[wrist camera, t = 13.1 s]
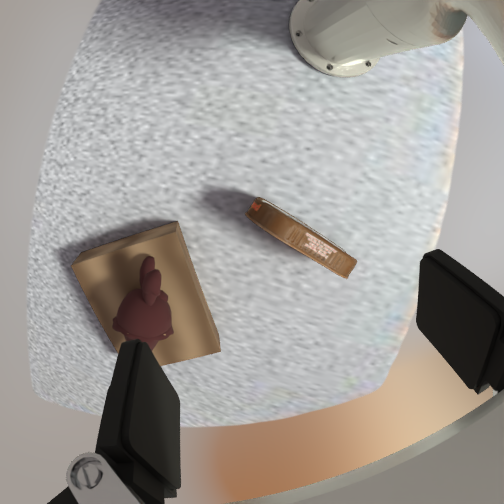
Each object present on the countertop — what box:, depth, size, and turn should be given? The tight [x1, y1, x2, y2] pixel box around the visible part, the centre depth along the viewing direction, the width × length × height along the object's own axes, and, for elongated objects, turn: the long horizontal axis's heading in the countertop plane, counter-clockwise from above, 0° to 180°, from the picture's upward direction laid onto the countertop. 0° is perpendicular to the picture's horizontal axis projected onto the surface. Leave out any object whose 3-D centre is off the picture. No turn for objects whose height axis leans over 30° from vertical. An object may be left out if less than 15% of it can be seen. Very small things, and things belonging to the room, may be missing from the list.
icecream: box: [112, 256, 174, 351], centre depth 35 cm, size 7×7×15 cm
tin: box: [245, 197, 357, 279], centre depth 37 cm, size 15×3×8 cm, turn 57°
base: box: [71, 221, 221, 366], centre depth 40 cm, size 14×18×4 cm
